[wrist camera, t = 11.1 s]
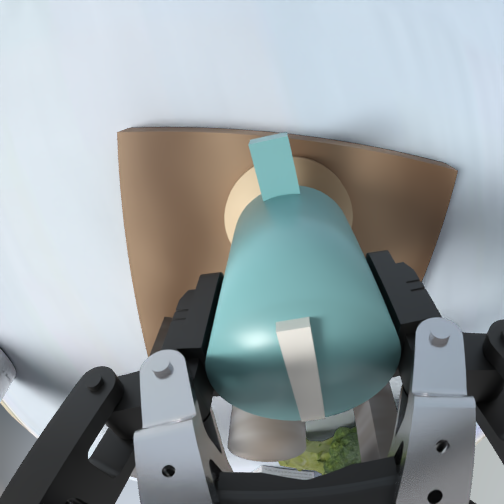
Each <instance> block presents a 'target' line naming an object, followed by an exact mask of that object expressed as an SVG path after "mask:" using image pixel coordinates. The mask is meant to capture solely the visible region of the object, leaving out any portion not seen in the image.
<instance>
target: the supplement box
mask: <svg viewBox="0 0 504 504" xmlns="http://www.w3.org/2000/svg"><path fill="white" fill-rule="evenodd" d="M253 472H262V473H267V474H272V475H278V476H283V477H289V478H295V479H302V480H308V479H312V478H314V472H309V471H298V470H290V469H282V468H275V467H268V466H260V467H259V468H257V469H256V470H254V471H253ZM251 473H252V472H251Z"/></svg>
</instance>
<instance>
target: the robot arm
mask: <svg viewBox="0 0 504 504" xmlns="http://www.w3.org/2000/svg"><path fill="white" fill-rule="evenodd" d="M366 261H367V263H368V265H369V267H370V269H371V272H372V274H373V276H374V279H375V281H376V283H377V285H378V288H379V290H380V292H381V295H382V297H383V300H384V302H385V304H386V307H387V309H388V312H389V314H390V317H391V319H392V322H393V324H394V327H395V330H396V332H397V335H398V337H399V340H400V346H401V357H400V361H399V365H398V367H397V369H396V372H395V373H394V375H393V376H392V377H396V376H401V380H402V383H403V384H402V387H401V391H400V399H399V405H398V412H397V418H396V424H395V429H394V435H393V440H392V444H391V447H390V450H389V453H388V457H387V458H382V459H378V460H373V461H368V462H362V463H356V464H351V465H349V466H346V467H344V468H341V469H338V470H336V471H333V472H330V473H327V474H324V475H321V476H318V477H315V478H312V479H308V480H302V479H295V478H289V477H283V476H278V475H272V474H267V473H262V472H252V473H246V472H233V470H232V468H231V466H230V464H229V462H228V460H227V457H226V454H225V451H224V448H223V444H222V441H221V438H220V434H219V431H218V427H217V424H216V420H215V416H214V413H213V410H212V408H211V403H212V397H213V396H220V395H219V394H218V393H217V392H216V391H215V389H214V388H213V387H212V385H211V384H210V382H209V379H208V377H207V373H206V367H205V361H206V355H207V350H208V346H209V341H210V337H211V332H212V328H213V323H214V318H215V314H216V309H217V305H218V301H219V296H220V292H221V287H222V283H223V279H224V275H223V273H222V272H217V273H209V274H201V275H200V277H199V280H198V283H197V286H196V289H192V290H188V291H187V292H186V293H185V294H184V295H183V296H182V297H181V299H180V300H179V302H178V305H177V308H176V312H175V313H174V316H173V318H172V319H173V321H171V324H170V326H169V329H168V332H167V335H166V337H165V340H164V343H163V346H162V349H161V351H159V352H156V353H154V354H152V355H151V356H149V357H148V358H147V359H146V360H145V361H144V362H143V364H142V366H141V368H140V371H137V372H134V373H130V374H126V375H122V376H118V377H117V376H116V374H115V373H114V371H113V370H112V369H110V368H108V367H105V366H100V367H96V368H93V369H91V370H89V371H88V372H86V373H85V374H84V375H83V376H82V378H81V379H80V380H79V382H78V383H77V384H76V386H75V387H74V388H73V390H72V391H71V392H70V394H69V395H68V397H67V398H66V399H65V401H64V402H63V404H62V405H61V406H60V408H59V409H58V411H57V412H56V413H55V415H54V416H53V418H52V419H51V420H50V422H49V423H48V425H47V426H46V428H45V429H44V431H43V432H42V434H41V435H40V436H39V438H38V440H37V441H36V442H35V444H34V445H33V447H32V448H31V450H30V451H29V453H28V454H27V456H26V458H25V459H24V460H23V462H22V464H21V465H20V467H19V468H18V470H17V472H16V473H15V475H14V476H13V478H12V479H11V481H10V483H9V484H8V486H7V487H6V489H5V491H4V492H3V494H2V496H1V498H0V504H115V502H116V501H117V499H118V497H119V495H120V494H121V492H122V490H123V488H124V486H125V484H126V482H127V481H128V479H129V477H130V475H131V473H132V472H133V470H134V468H135V466H136V472H137V481H138V489H139V496H140V503H141V504H476V503H474V502H473V501H471V500H470V492H471V485H472V477H473V467H474V453H475V433H476V422H477V423H478V425H479V426H480V428H481V429H482V431H483V432H484V434H485V435H486V437H487V438H488V440H489V442H490V443H491V445H492V446H493V448H494V449H495V451H496V453H497V454H498V456H499V458H500V459H501V461H502V463H503V464H504V320H498V321H496V322H494V323H493V324H492V325H491V326H490V328H489V330H488V333H487V334H480V333H464V332H462V331H461V329H460V328H459V326H458V325H457V324H455V323H454V322H452V321H451V320H448V319H445V318H442V317H441V315H440V313H439V311H438V310H437V308H436V306H435V304H434V302H433V301H432V299H431V297H430V296H429V294H428V292H427V290H426V289H425V287H424V285H423V284H422V282H421V281H420V279H419V277H418V275H417V274H416V272H415V271H414V269H412V268H411V267H410V266H408V265H407V264H405V263H404V262H400V263H395V261H394V260H393V258H392V256H391V254H390V253H389V251H388V250H383V251H376V252H369V253H367V254H366ZM15 376H16V371H15V368H14V366H13V364H12V363H11V361H10V360H9V358H8V357H7V356H6V355H5V353H4V352H3V351H2V350H1V349H0V402H1V400H2V399H3V397H4V395H5V393H6V392H7V390H8V388H9V386H10V385H11V383H12V381H13V379H14V378H15ZM105 424H106V425H107V426H108V427H109V428H108V429H107V431H106V433H105V434H104V436H103V438H102V439H101V441H100V442H99V444H98V446H97V447H96V449H95V451H94V452H93V454H92V455H91V457H90V458H89V459H88V451H89V449H90V447H91V445H92V444H93V442H94V441H95V439H96V437H97V436H98V434H99V433H100V431H101V429H102V428H103V426H104V425H105Z"/></svg>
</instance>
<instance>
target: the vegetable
mask: <svg viewBox="0 0 504 504" xmlns="http://www.w3.org/2000/svg"><path fill="white" fill-rule="evenodd" d="M278 462H279V464H280V466H286V467H291V468H296V469H297V470H298V471H302V470H303V469H304V470H314V471H317V472H319V473H321V474H322V475H324V474H327V473H330V472H333V471H336V470H338V469H341V468H344V467H346V466H349V465H351V464H356V463H361V455H360V448H359V441H358V434H357V428H356V426H355V427H353V428H351V429H350V428H348V427H340V428H338V429H337V430H336V431H335V433H334V436H333V437H331V438H329V439H327V440H324V441H322V442H321V441H309V440H307V438H306V450H305V452H304V453H302V454H301V455H299V456H297V457H295V458H292V459H288V460H284V461H278Z"/></svg>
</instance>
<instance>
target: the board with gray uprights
mask: <svg viewBox="0 0 504 504" xmlns="http://www.w3.org/2000/svg"><path fill="white" fill-rule="evenodd" d="M274 134H279V133H275V132H265V131H253V130H239V129H222V128H196V127H139V128H127V129H125V130H122V131H120V132H117V140H118V161H119V176H120V189H121V200H122V210H123V219H124V227H125V235H126V243H127V250H128V257H129V264H130V270H131V276H132V282H133V288H134V293H135V298H136V304H137V309H138V314H139V319H140V323H141V328H142V333H143V337H144V341H145V346H146V350H147V354H148V357H149V356H151V355H152V354H154V353H156V352H159V351H161V349H162V346H163V343H164V340H165V337H166V335H167V332H168V329H169V326H170V324H171V321H173V319H172V318H173V316H174V313H175V312H176V308H177V305H178V302H179V300H180V299H181V297H182V296H183V295H184V294H185V293H186V292H187V291H188V290H192V289H196V286H197V283H198V280H199V277H200V275H201V274H209V273H217V272H222V273H223V275H224V274H225V270H226V266H227V261H228V257H229V253H230V248H231V244H232V240H233V236H234V231H235V227H236V224H237V221H238V218H239V217H240V215H241V213H242V211H243V210H244V209H245V207H246V206H247V205H248V204H249V203H250V202H251V201H252V200H253V199H255V198H256V197H257V196H259V195H260V194H261V191H260V187H259V183H258V179H257V176H256V172H255V168H254V164H253V160H252V157H251V153H250V149H249V145H248V144H249V142H250V140H252V139H256V138H260V137H265V136H270V135H274ZM287 135H288V139H289V143H290V147H291V152H292V156H293V161H294V166H295V170H296V175H297V180H298V184H299V186H306V187H310V188H313V189H316V190H318V191H321V192H322V193H324V194H326V195H328V196H329V197H330V198H331V199H333V200H334V201H335V202H336V203H337V204H338V205H339V207H340V208H341V210H342V211H343V213H344V215H345V217H346V219H347V221H348V223H349V225H350V227H351V229H352V231H353V233H354V235H355V237H356V239H357V241H358V243H359V245H360V248H361V250H362V252H363V254H364V256H365V258H366V254H367V253H369V252H376V251H383V250H388V251H389V253H390V254H391V256H392V258H393V260H394V261H395V263H400V262H404V263H405V264H407V265H408V266H410V267H411V268H412V269H414V271H415V272H416V274H417V275H418V277H419V279H420V281H421V282H422V280H423V277H424V275H425V272H426V270H427V267H428V265H429V262H430V259H431V257H432V254H433V251H434V248H435V246H436V243H437V240H438V237H439V234H440V231H441V228H442V225H443V222H444V219H445V215H446V212H447V209H448V206H449V202H450V199H451V195H452V191H453V188H454V184H455V180H456V176H457V172H458V170H456V169H454V168H453V167H451V166H449V165H447V164H446V163H443V162H439V161H435V160H431V159H427V158H423V157H419V156H415V155H410V154H406V153H402V152H397V151H392V150H388V149H383V148H378V147H372V146H367V145H362V144H356V143H350V142H344V141H338V140H332V139H325V138H318V137H310V136H302V135H294V134H287ZM353 409H354V415H355V421H356V428H357V434H358V441H359V448H360V455H361V463H362V462H368V461H373V460H378V459H382V458H387V457H388V453H389V450H390V447H391V444H392V440H393V435H394V429H395V424H396V418H397V409H396V406H395V402H394V398H393V394H392V391H391V387H390V383H389V382H388V383H387V384H386V385H385V386H384V387H383V388H382V389H381V390H380V391H379V392H378V393H377V394H376V395H374V396H373V397H372V398H370V399H369V400H367V401H365V402H364V403H362V404H360V405H358V406H356V407H354V408H353ZM228 449H229V451H230V452H231V453H233V454H234V455H236V456H238V457H241V458H244V459H248V460H253V461H261V462H276V461H284V460H288V459H292V458H295V457H297V456H299V455H301V454H302V453H304V452H305V450H306V427H305V421H304V422H302V421H301V420H298V421H290V420H277V419H270V418H265V417H261V416H257V415H253V414H251V413H248V412H245V411H243V410H241V409H239V408H237V407H235V406H233V405H232V412H231V421H230V429H229V438H228ZM130 476H131V477H135V478H137V472H136V466H135V468H134V470H133V472H132V473H131V475H130Z"/></svg>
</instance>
